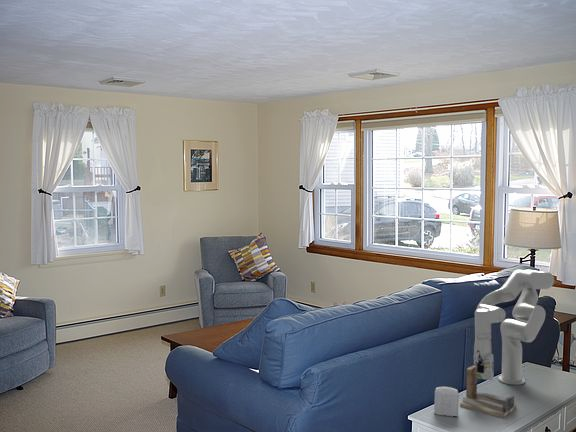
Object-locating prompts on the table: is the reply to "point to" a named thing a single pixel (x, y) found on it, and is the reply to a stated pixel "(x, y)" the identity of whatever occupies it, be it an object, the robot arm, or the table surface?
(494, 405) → the rail board
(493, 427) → the table surface
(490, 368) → the ink box
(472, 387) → the end bracket
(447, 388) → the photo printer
